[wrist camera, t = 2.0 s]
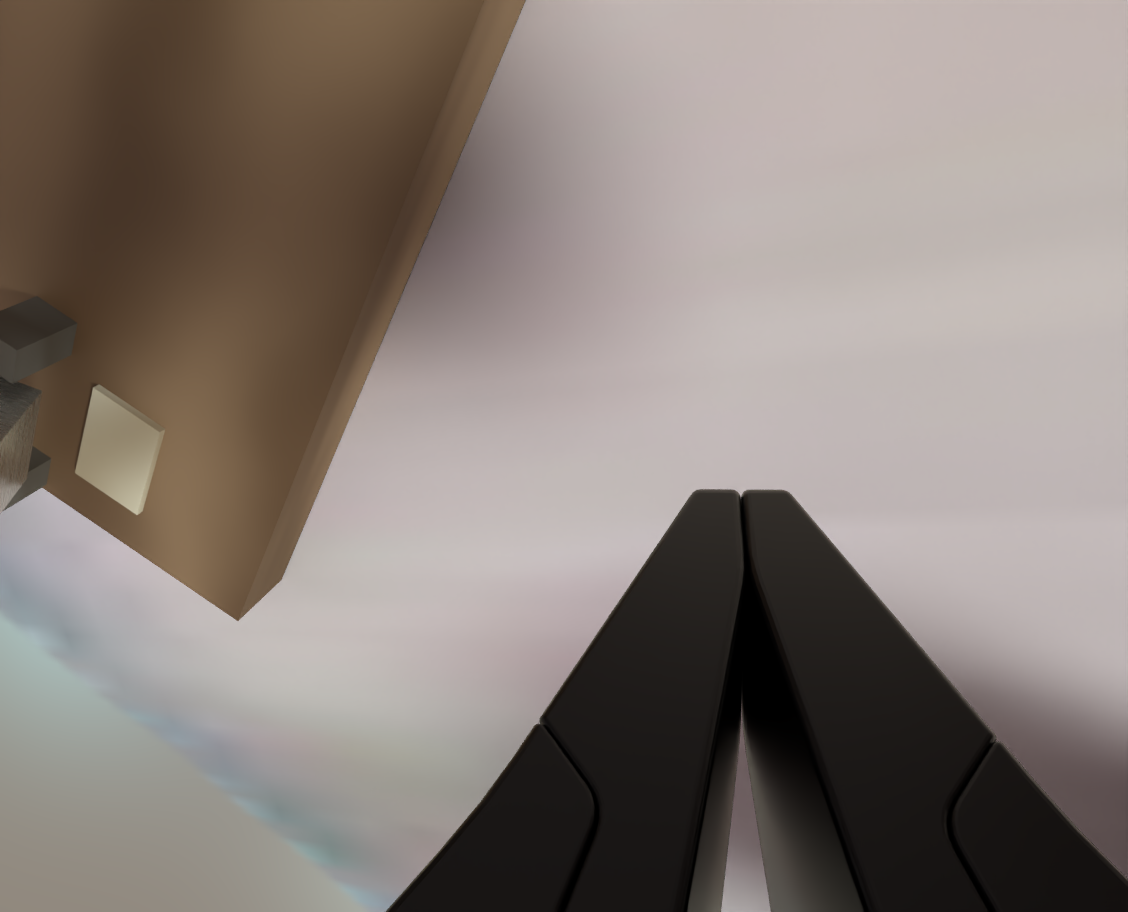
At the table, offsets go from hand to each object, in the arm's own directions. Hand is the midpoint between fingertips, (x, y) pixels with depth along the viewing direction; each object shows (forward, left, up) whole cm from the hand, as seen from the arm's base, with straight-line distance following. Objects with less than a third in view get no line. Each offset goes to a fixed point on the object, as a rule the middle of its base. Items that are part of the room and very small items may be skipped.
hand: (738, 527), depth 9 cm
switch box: (+5, +14, -11) cm, 18 cm away
